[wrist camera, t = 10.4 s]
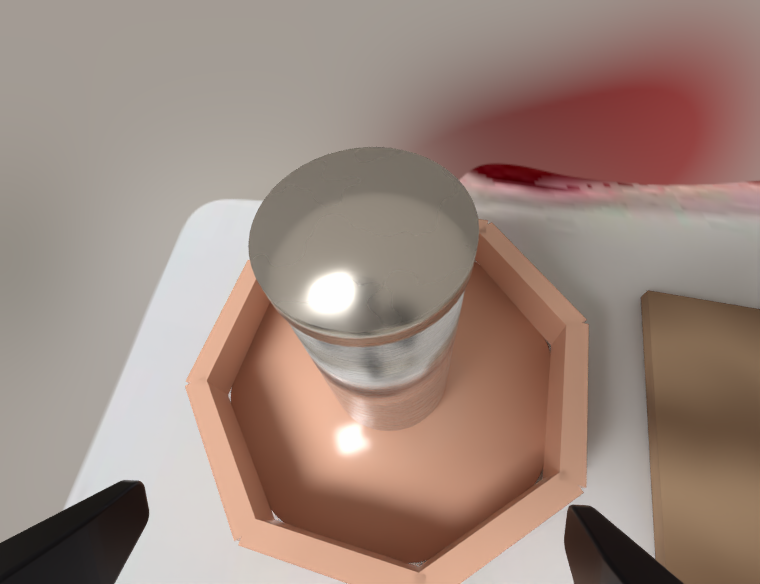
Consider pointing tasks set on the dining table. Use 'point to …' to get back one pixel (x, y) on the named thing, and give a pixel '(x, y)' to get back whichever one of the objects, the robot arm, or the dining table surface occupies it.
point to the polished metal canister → (370, 275)
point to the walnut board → (704, 436)
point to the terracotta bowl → (400, 435)
